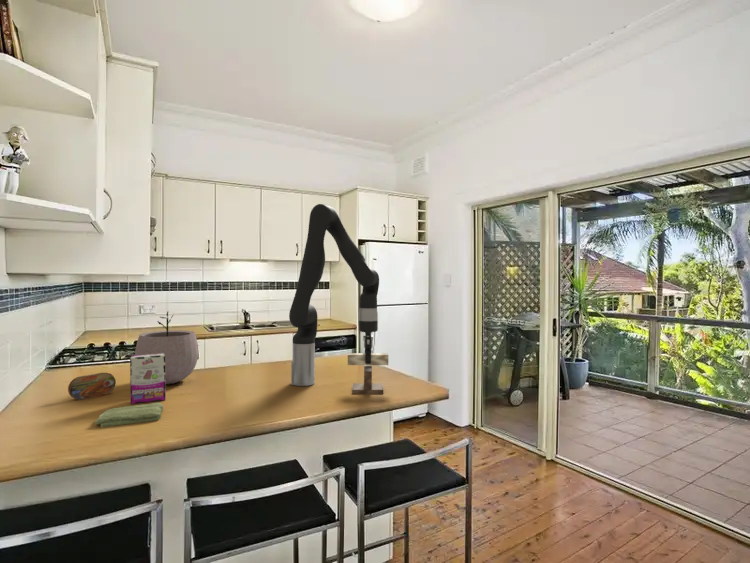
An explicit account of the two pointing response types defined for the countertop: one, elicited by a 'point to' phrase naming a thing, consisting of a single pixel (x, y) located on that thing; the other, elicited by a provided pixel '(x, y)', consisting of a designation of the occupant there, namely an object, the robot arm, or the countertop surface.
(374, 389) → the balance stand
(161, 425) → the countertop surface
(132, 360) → the candy bar box
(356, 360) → the pale gold metallic bar
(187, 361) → the plant pot
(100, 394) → the tin
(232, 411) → the countertop surface
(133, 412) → the washcloth
